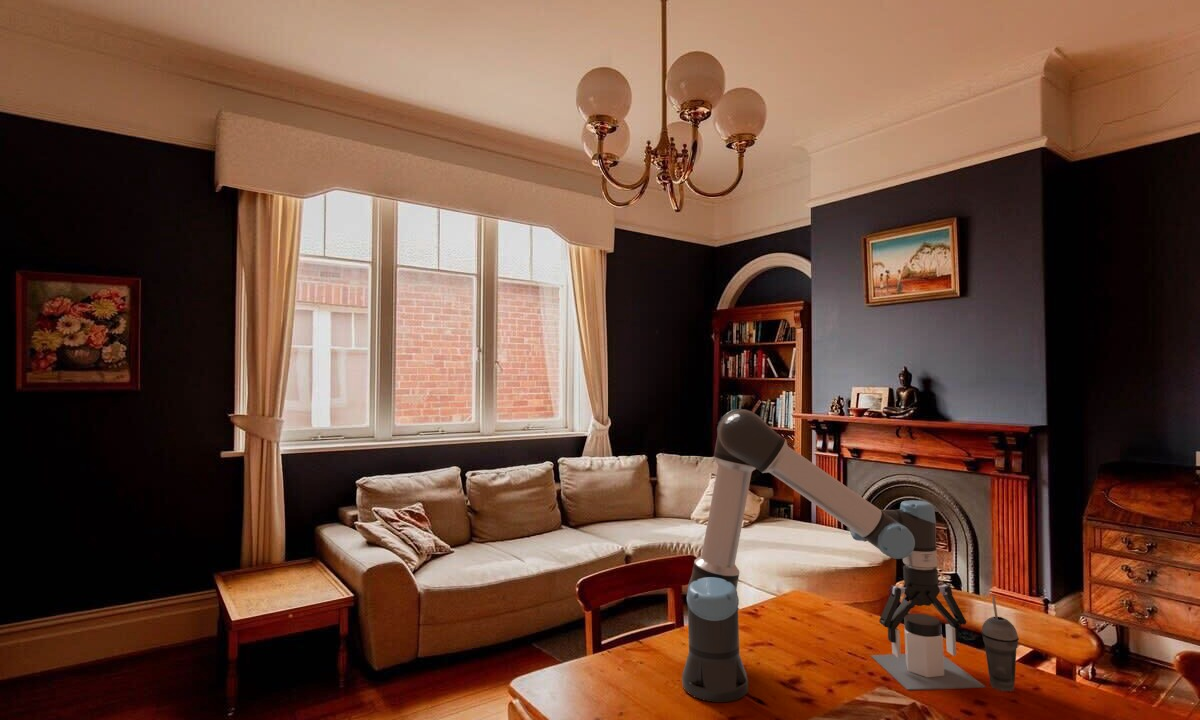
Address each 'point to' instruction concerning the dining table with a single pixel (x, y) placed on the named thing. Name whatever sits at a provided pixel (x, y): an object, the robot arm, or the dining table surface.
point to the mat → (912, 681)
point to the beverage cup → (1000, 651)
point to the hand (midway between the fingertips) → (923, 654)
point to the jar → (924, 645)
